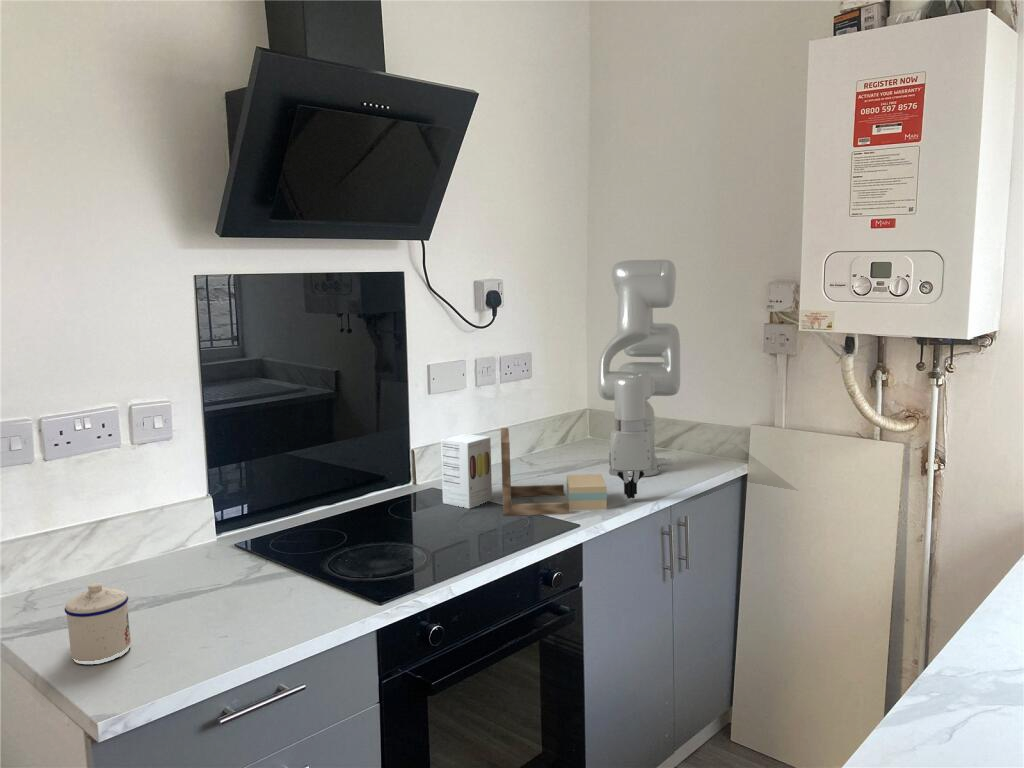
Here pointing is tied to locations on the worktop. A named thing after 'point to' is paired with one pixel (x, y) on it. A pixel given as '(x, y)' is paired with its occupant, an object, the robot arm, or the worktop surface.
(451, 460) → the supplement box
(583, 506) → the carton
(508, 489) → the display stand
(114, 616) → the teacup with lid
